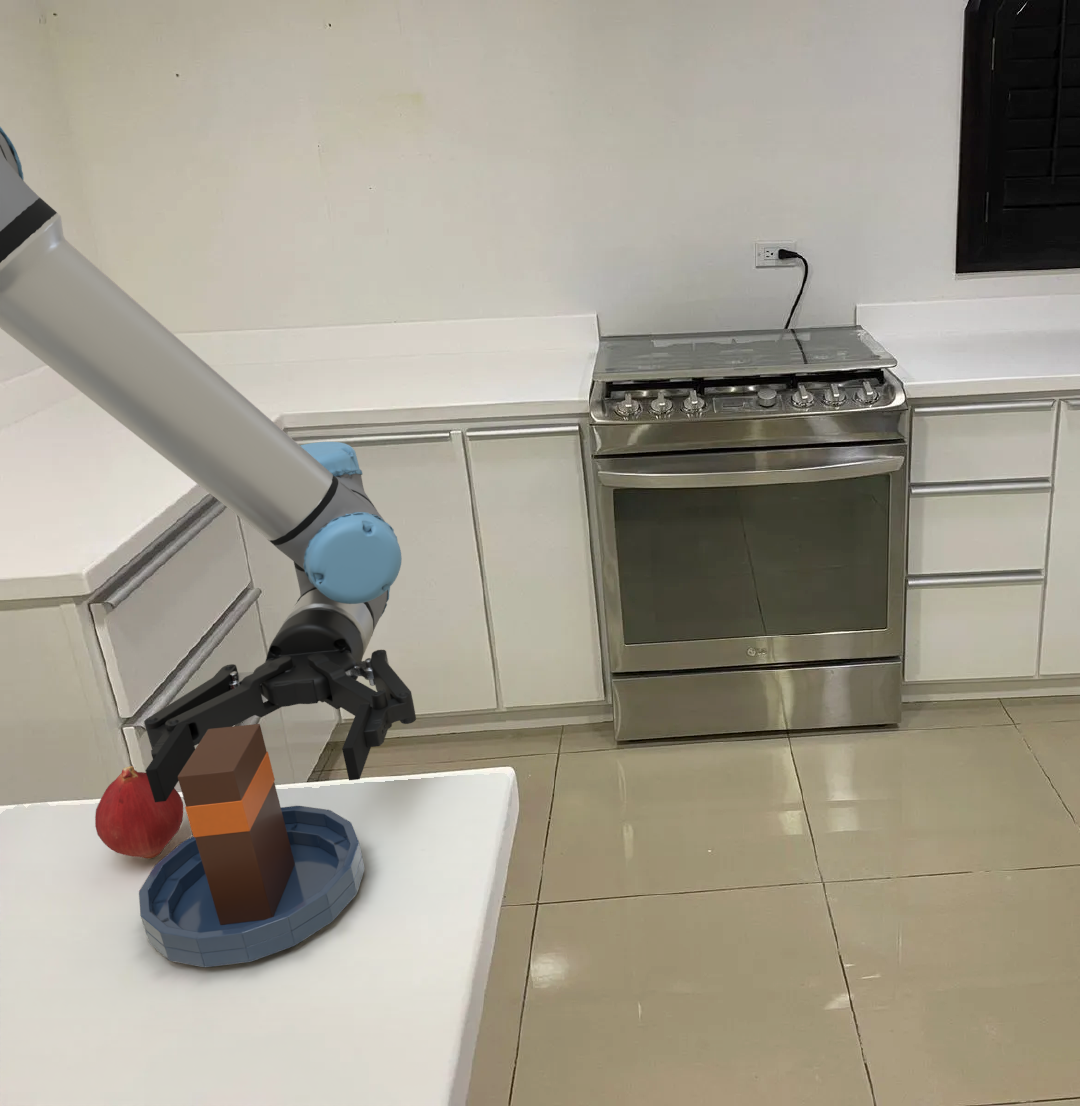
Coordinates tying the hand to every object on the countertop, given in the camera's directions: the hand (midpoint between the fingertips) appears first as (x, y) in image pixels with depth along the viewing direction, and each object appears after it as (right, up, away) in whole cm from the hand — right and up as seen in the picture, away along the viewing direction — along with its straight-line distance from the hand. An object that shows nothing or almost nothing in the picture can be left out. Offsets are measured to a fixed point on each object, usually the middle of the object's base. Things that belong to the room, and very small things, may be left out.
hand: (253, 775), depth 78 cm
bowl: (+1, -9, -1) cm, 9 cm away
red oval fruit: (-10, -7, +5) cm, 13 cm away
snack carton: (+1, -8, -1) cm, 8 cm away
